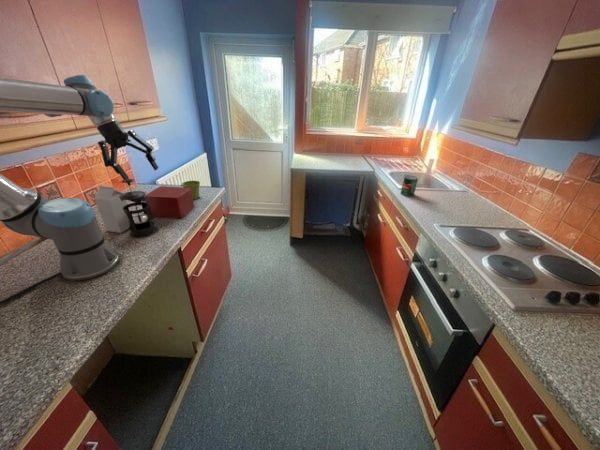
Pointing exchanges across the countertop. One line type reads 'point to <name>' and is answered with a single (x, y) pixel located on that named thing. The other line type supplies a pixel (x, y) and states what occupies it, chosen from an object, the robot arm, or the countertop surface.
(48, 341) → the countertop surface
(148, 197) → the red drawer cabinet
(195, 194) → the plant pot
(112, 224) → the milk carton
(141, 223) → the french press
